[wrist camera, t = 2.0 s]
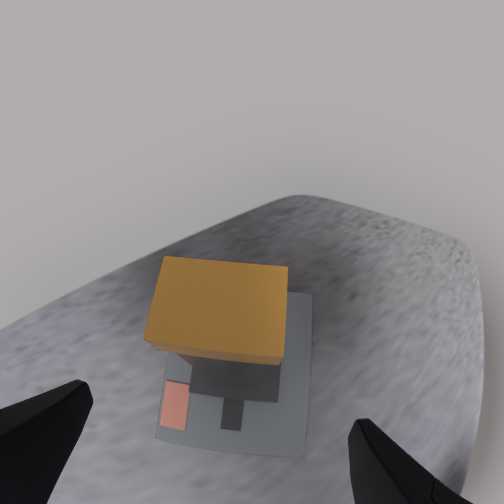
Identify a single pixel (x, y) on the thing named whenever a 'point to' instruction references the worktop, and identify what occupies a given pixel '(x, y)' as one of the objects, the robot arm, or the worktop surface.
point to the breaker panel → (245, 401)
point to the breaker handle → (222, 324)
